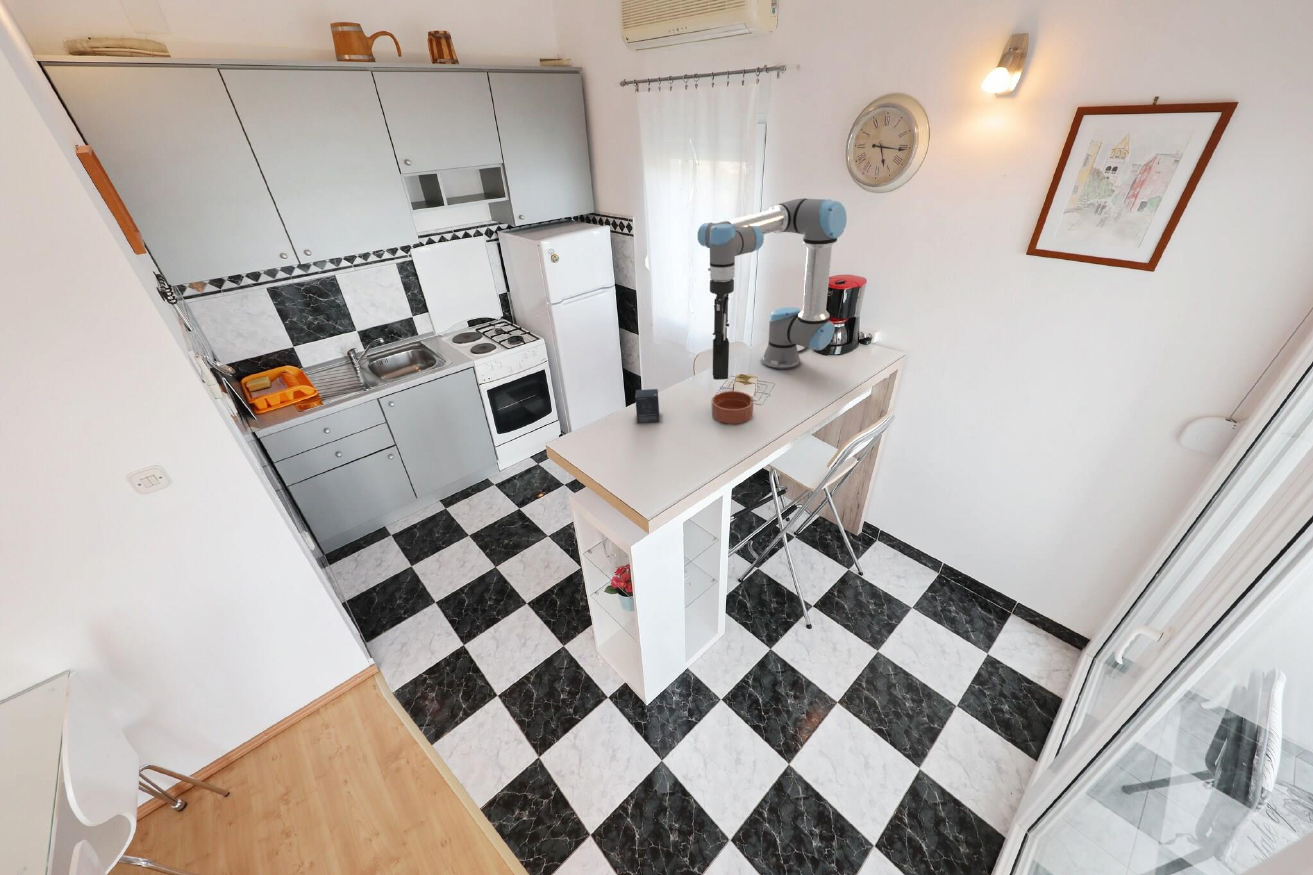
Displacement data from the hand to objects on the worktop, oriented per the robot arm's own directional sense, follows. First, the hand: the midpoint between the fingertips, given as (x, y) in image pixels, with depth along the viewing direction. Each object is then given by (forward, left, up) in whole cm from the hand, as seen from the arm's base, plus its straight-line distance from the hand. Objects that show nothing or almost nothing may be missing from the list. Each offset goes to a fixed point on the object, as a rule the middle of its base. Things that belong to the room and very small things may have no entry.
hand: (720, 349), depth 167 cm
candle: (0, 0, -10) cm, 10 cm away
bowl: (-2, +4, -25) cm, 25 cm away
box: (+21, -15, -25) cm, 36 cm away
